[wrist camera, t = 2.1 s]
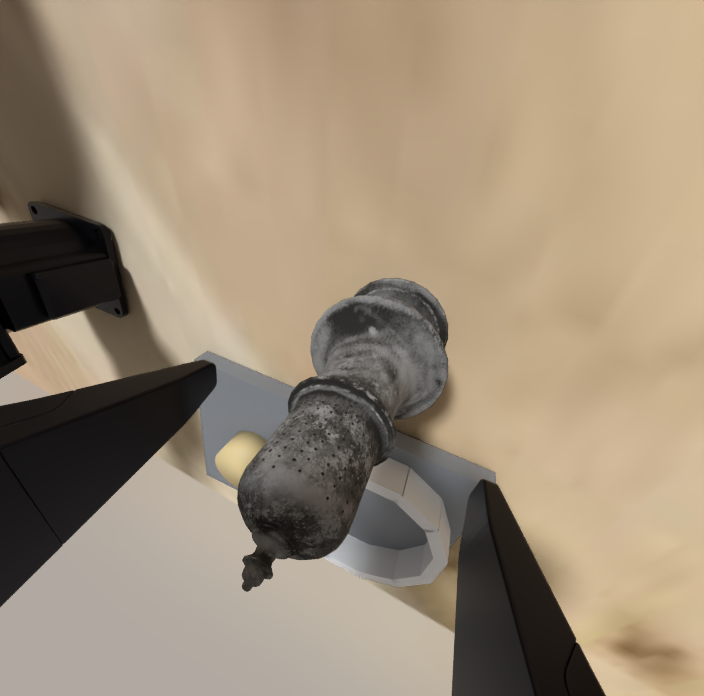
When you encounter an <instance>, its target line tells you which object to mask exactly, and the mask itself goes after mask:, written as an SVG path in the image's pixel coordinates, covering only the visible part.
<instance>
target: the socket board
mask: <svg viewBox="0 0 704 696" xmlns="http://www.w3.org/2000/svg"><path fill="white" fill-rule="evenodd" d="M198 360H208V361H210V362H212V363H214V364H215V365H216V370H217V385H216V387H215V388H214V390H213V391H212V392H211V393H210V395H209V396H208V397H207V398H206V399H205V401H204V402H203V403H202V404H201V405H200V416H201V425H202V434H203V444H204V453H205V462H206V471H207V475H209V476H211V477H213V478H215V479H217V480H218V481H220V482H222V483H224V484H226V485H228V486H230V487H232V488H234V489H236V490H238V484H239V481H240V478H241V476H242V474H243V472H244V470H245V468H246V467H247V465H248V464H249V463H250V462H251V461H252V459H253V458H254V457H255V456H256V454H257V453H258V452H259V451H260V449H261V448H262V447H263V446H264V444H265V443H266V442H267V441H268V440H269V438H270V437H271V436H272V435H273V433H274V432H275V431H276V430H277V428H278V427H279V426H280V425H281V423H282V422H283V421H284V420H285V419H286V417H287V416H288V400H289V397H290V394H291V392H292V391H293V389H294V387H292V386H289V385H287V384H285V383H282V382H280V381H277V380H275V379H273V378H270V377H268V376H266V375H263V374H261V373H259V372H256V371H254V370H251V369H249V368H247V367H244V366H242V365H240V364H237V363H235V362H232V361H230V360H228V359H225V358H223V357H221V356H218V355H216V354H214V353H211V352H209V351H207V352H205V353H203V354H202V355H200V356H199V357H197V358H196V359H194V361H198ZM395 432H396V442H395V446H394V449H393V452H392V454H391V455H390V456H389V457H388V459H387V460H386V461H384V462H383V463H381V464H379V465H378V466H374V467H373V469H372V472H371V475H370V477H369V480H368V483H367V485H366V488H365V491H364V493H363V496H362V499H361V501H360V504H359V507H358V510H357V512H356V515H355V518H354V520H353V523H352V526H351V528H350V531H349V533H348V535H347V536H346V538H345V539H344V541H343V543H342V544H341V545H340V546H339V547H338V548H337V550H335V551H333V552H332V553H330V554H328V555H327V556H325V557H323V558H326V560H328V561H330V562H331V563H333V564H335V565H337V566H339V567H341V568H343V569H345V570H346V571H348V572H350V573H352V574H354V575H356V576H358V577H359V578H360V577H361V578H362V579H366V580H370V581H374V582H378V583H382V584H387V585H391V586H395V587H407V586H415V585H423V584H431V583H432V582H433V581H434V580H435V578H436V577H437V576H438V575H439V574H440V572H441V571H442V570H443V569H444V568H445V567H446V565H447V564H448V556H449V549H450V547H451V546H452V545H453V544H454V542H455V541H456V540H457V539H458V537H459V536H460V535H461V534H462V532H463V526H464V520H465V514H466V508H467V502H468V498H469V495H470V494H471V492H472V491H473V489H474V488H475V487H476V485H477V484H478V482H479V481H480V480H481V479H487V480H489V481H491V482H494V483H496V476H495V472H493V471H491V470H488V469H486V468H484V467H481V466H479V465H477V464H474V463H472V462H469V461H467V460H465V459H462V458H460V457H458V456H455V455H453V454H450V453H448V452H446V451H443V450H441V449H439V448H436V447H434V446H432V445H429V444H427V443H424V442H422V441H420V440H417V439H415V438H413V437H410V436H408V435H405V434H403V433H401V432H398V431H396V430H395Z"/></svg>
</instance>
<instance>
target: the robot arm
mask: <svg viewBox="0 0 704 696" xmlns="http://www.w3.org/2000/svg"><path fill="white" fill-rule="evenodd" d="M28 207H29V210H30V213H31V216H32V219H33V220H32V221H22V222H11V223H1V224H0V379H1V378H2V377H4V376H6V375H7V374H9V373H10V372H12V371H14V370H16V369H17V368H19V367H21V366H22V365H24V364H25V363H27V361H26V359H25V358H24V356H23V354H21V353H19V351H18V350H17V348H16V346H15V344H14V343H13V341H12V339H11V337H10V336H9V334H8V333H10V332H17V331H20V330H23V329H26V328H29V327H32V326H35V325H38V324H41V323H44V322H47V321H50V320H55V319H59V318H62V317H65V316H68V315H71V314H74V313H77V312H80V311H83V310H86V309H89V308H92V307H96V308H98V309H101V310H103V311H105V312H108V313H110V314H112V315H115V316H117V317H120V318H121V317H124V316H126V315H128V309H127V305H126V301H125V296H124V292H123V288H122V283H121V279H120V275H119V270H118V266H117V262H116V257H115V253H114V249H113V244H112V240H111V236H110V232H109V230H108V229H107V227H106V226H105V225H103V224H101V223H99V222H96V221H93V220H90V219H87V218H84V217H82V216H79V215H76V214H73V213H70V212H67V211H65V210H62V209H59V208H56V207H53V206H50V205H47V204H45V203H42V202H39V201H33V202H29V203H28ZM216 385H217V370H216V365H215V364H214V363H212V362H210V361H208V360H198V361H194V362H190V363H186V364H182V365H177V366H173V367H169V368H165V369H161V370H156V371H152V372H148V373H144V374H140V375H135V376H131V377H127V378H123V379H119V380H114V381H110V382H106V383H102V384H98V385H93V386H89V387H85V388H81V389H77V390H75V391H73V390H72V391H68V392H64V393H60V394H55V395H51V396H47V397H42V398H38V399H33V400H29V401H23V402H18V403H13V404H8V405H3V406H0V607H1V606H2V605H3V604H4V603H5V602H6V601H7V600H8V599H9V598H10V597H11V596H12V595H13V594H14V593H15V592H16V591H17V590H18V589H19V588H20V587H21V586H22V585H23V584H24V583H25V582H26V581H27V580H28V579H29V578H30V577H31V576H32V575H33V574H34V573H35V572H36V571H37V570H38V569H39V568H40V567H41V566H42V565H43V564H44V563H45V562H46V561H47V560H48V559H49V558H50V557H51V556H52V555H53V554H54V553H55V552H57V551H58V549H60V548H61V547H62V545H63V544H64V543H65V542H66V541H67V540H68V539H69V538H70V537H71V536H72V535H73V534H74V533H75V532H76V531H77V530H78V529H79V528H80V527H81V526H82V525H83V524H84V523H86V522H87V520H89V519H90V518H91V517H92V515H94V514H95V513H96V512H97V511H98V510H99V509H100V508H101V507H102V506H103V505H104V504H105V503H106V502H107V501H108V500H109V499H110V498H111V496H113V495H114V494H115V493H116V492H117V491H118V490H119V489H120V488H121V487H122V486H123V485H124V484H125V483H126V482H127V481H128V480H129V479H130V478H131V477H132V476H133V475H134V474H135V473H136V472H137V471H138V470H139V469H140V468H141V467H142V466H143V465H144V464H145V463H146V462H147V461H148V460H149V459H150V458H151V457H152V456H153V455H154V454H155V453H156V452H157V451H158V450H159V449H160V448H161V447H162V446H163V445H164V444H165V443H166V442H167V441H168V440H169V439H170V438H171V437H172V436H173V435H174V434H175V433H176V432H177V431H178V430H179V429H180V428H181V427H182V426H183V425H184V424H185V423H186V422H187V421H188V420H189V419H190V418H191V416H192V415H193V414H194V413H195V412H196V410H197V409H198V408H199V407H200V405H201V404H202V403H203V402H204V401H205V399H206V398H207V397H208V396H209V395H210V393H211V392H212V391H213V390H214V388H215V387H216ZM453 662H454V663H453V681H452V696H606V695H605V693H604V691H603V689H602V687H601V685H600V684H599V682H598V680H597V678H596V676H595V674H594V672H593V670H592V668H591V667H590V665H589V663H588V661H587V659H586V657H585V655H584V653H583V651H582V649H581V647H580V645H579V644H578V643H577V642H576V637H575V635H574V633H573V631H572V629H571V627H570V626H569V624H568V622H567V620H566V618H565V616H564V614H563V612H562V610H561V608H560V606H559V604H558V602H557V600H556V598H555V596H554V594H553V592H552V590H551V588H550V586H549V584H548V582H547V580H546V578H545V576H544V574H543V572H542V570H541V568H540V567H539V565H538V563H537V561H536V559H535V557H534V555H533V553H532V551H531V549H530V547H529V545H528V543H527V541H526V539H525V537H524V535H523V533H522V531H521V529H520V527H519V525H518V523H517V521H516V519H515V517H514V515H513V513H512V511H511V510H510V508H509V506H508V504H507V502H506V500H505V498H504V496H503V494H502V492H501V490H500V488H499V486H498V485H497V484H496V483H494V482H491V481H489V480H487V479H481V480H480V481H479V482H478V484H477V485H476V487H475V488H474V489H473V491H472V492H471V494H470V495H469V498H468V502H467V508H466V514H465V520H464V526H463V532H462V538H461V544H460V551H459V561H458V579H457V600H456V620H455V641H454V661H453Z"/></svg>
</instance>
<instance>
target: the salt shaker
mask: <svg viewBox="0 0 704 696" xmlns="http://www.w3.org/2000/svg"><path fill="white" fill-rule="evenodd" d="M447 338H448V323H447V319H446V315H445V312H444V310H443V308H442V307H441V305H440V303H439V302H438V300H437V299H436V298H435V297H434V296H433V295H432V294H431V293H430V292H429V291H428V290H427V289H426V288H424V287H422V286H420V285H418V284H416V283H414V282H413V281H408V280H404V279H400V278H383V279H380V280H377V281H374V282H371V283H369V284H368V285H366V286H364V287H363V288H361V289H360V290H359V291H358V292H357V293H356V295H355V296H354V297H352V298H348V299H345V300H341V301H340V302H338V303H337V304H335V305H334V306H332V307H331V308H329V309H328V310H326V312H325V313H324V314H323V315H322V317H321V318H320V319H319V320H318V322H317V323H316V326H315V329H314V331H313V334H312V336H311V356H312V361H313V366H314V368H315V371H316V373H317V375H318V376H316V377H310V378H308V379H306V380H304V381H302V382H300V383H299V384H298V385H297V386H296V387H295V388H294V389H293V391H292V392H291V394H290V397H289V400H288V416H287V417H286V419H285V420H284V421H283V422H282V423H281V425H280V426H279V427H278V428H277V430H276V431H275V432H274V433H273V435H272V436H271V437H270V438H269V440H268V441H267V442H266V443H265V444H264V446H263V447H262V448H261V449H260V451H259V452H258V453H257V454H256V456H255V457H254V458H253V459H252V461H251V462H250V463H249V464H248V465H247V467H246V468H245V470H244V472H243V474H242V476H241V478H240V481H239V484H238V497H237V500H238V507H239V509H240V512H241V515H242V517H243V520H244V522H245V524H246V526H247V527H248V529H249V530H250V532H252V538H253V540H254V542H255V543H256V545H257V548H256V550H255V552H254V553H253V554H251V555H247V556H244V558H243V560H242V561H243V563H244V565H245V568H244V570H243V573H242V577H243V580H244V582H243V584H242V588H243V590H245V591H250V590H251V588H252V587H257V586H260V584H261V583H262V582H263V580H264V579H271V578H272V576H273V573H272V568H271V565H272V562H273V561H274V560H275V559H276V558H278V559H287V558H291V559H296V560H311V559H319V558H322V557H325V556H327V555H328V554H330V553H332V552H333V551H335V550H337V548H338V547H339V546H340V545H341V544H342V543H343V541H344V539H345V538H346V536H347V535H348V533H349V531H350V528H351V526H352V523H353V520H354V518H355V515H356V512H357V510H358V507H359V504H360V501H361V499H362V496H363V493H364V491H365V488H366V485H367V483H368V480H369V477H370V475H371V472H372V469H373V467H374V466H378V465H379V464H381V463H383V462H384V461H386V460H387V459H388V457H389V456H390V455H391V454H392V452H393V449H394V446H395V442H396V432H395V426H394V423H393V420H398V419H406V418H409V417H412V416H415V415H418V414H420V413H422V412H423V411H425V410H426V409H428V408H429V407H431V406H432V405H433V404H434V403H435V401H436V400H437V399H438V398H439V396H440V395H441V394H442V392H443V389H444V386H445V383H446V381H447V377H448V358H447V355H446V351H445V348H444V347H445V344H446V341H447Z"/></svg>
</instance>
